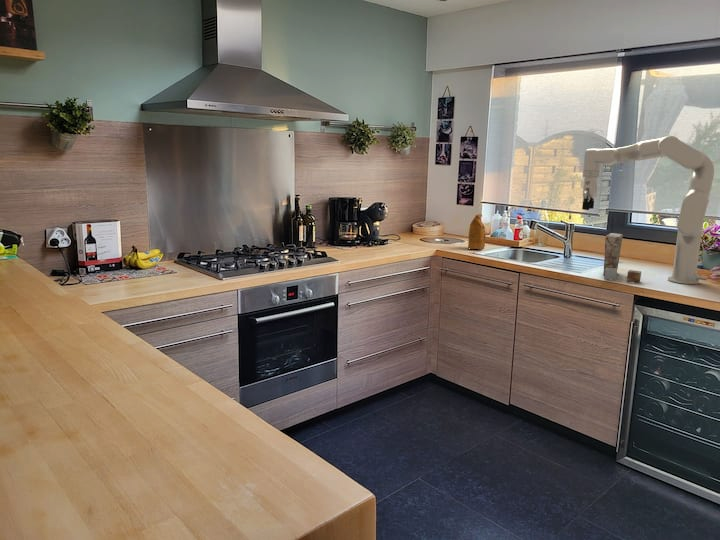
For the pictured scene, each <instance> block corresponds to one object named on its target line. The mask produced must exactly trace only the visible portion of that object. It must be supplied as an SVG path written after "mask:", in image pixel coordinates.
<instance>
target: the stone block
mask: <svg viewBox="0 0 720 540" xmlns="http://www.w3.org/2000/svg"><path fill="white" fill-rule="evenodd" d="M623 235H624V234H621V233H615V232H611V233H609V234H607V235H606V236H605V241H604V242H605V243H604V261H603V262H604V263H603V276H605V268H617V270H618V268H619V263H620V256H621V249H622V241H623Z"/></svg>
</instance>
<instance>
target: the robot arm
mask: <svg viewBox="0 0 720 540" xmlns="http://www.w3.org/2000/svg"><path fill="white" fill-rule="evenodd" d="M663 157H667V158H668V159H670V160H671V161H673V162H675V163H676V164H678V165H680V166H681V167H683V168H684V169H687V170H690V171H691V178H690V180H689V181H690V182H689V187H688V190H687V193H686V195H685V196H684V198H683V199H682V204H681V208H680V211H679V216H678V219H677V223H676V228H677V234H676V235H677V236H676V242H675V243H676V244H675V250H674V259H673V266H672V274H671V276H668V277H667V280H668V281H669V282H672V283H676V284H685V285H696V284H699V283H700V280H702V281H708V275H700V274H698V272H697V271H698V265H699V256H700V248H701V242H702V235H703V234H702V233H703V229H704V220H705V216H706V213H707V208H708V204H709V202H710V201H709V199H710V194H711V190H712V185H713V182H714V181H713V180H714V176H715V167H714V164H713V161H712V160H711V158H710V157H709V156H708V155H706V154H705V153H704V152H702V151H700V150H697V149H696V148H694V147H692V146H691V145H689V144H688V143H685V142H684V141H681V140H680V139H679V138H678V137H676V136H673V135H668V136H664V137H661V138H656V139H655V138H654V139H650V140H644V141H639V142H636V143H634V144H632V145H627V146H622V147H617V148H611V147H610V148H609V147H608V148H587V149H586V150H585V151H584V158H583V171H582V178H584V179H583V180H584V181H583V188H582V197H583V199H582V208H581V209H582V210H584V211H589V210H593V209H594V206H595V198H596V197H597V196H598V178H600V173H601V172H600V170H601V164H602V165H617V164H622V163H627V162H635V161H637V162H638V161H646V160H650V159H656V158H657V159H658V158H663Z"/></svg>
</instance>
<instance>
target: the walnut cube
mask: <svg viewBox="0 0 720 540" xmlns="http://www.w3.org/2000/svg"><path fill="white" fill-rule="evenodd" d="M641 278H642V271H641V270H635V269H634V270H633V269H629V270H628V271H627V277H626V283H630V282H634V283H633V284H638V283H639V284H640V283H641Z"/></svg>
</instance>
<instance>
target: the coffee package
mask: <svg viewBox="0 0 720 540" xmlns="http://www.w3.org/2000/svg"><path fill="white" fill-rule="evenodd" d="M482 218H483V214H482V213H478V214H475V216H474V218H473V219H472V220H471V222H470V224H469V230H468V243H467V244H468V245H467V249H468V248H470V249H478V250H479V251H481V250H483V249H485V246H486V234H487V233H486V227H485V225H484V223H483V221H482ZM478 250H477V251H478Z"/></svg>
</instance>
